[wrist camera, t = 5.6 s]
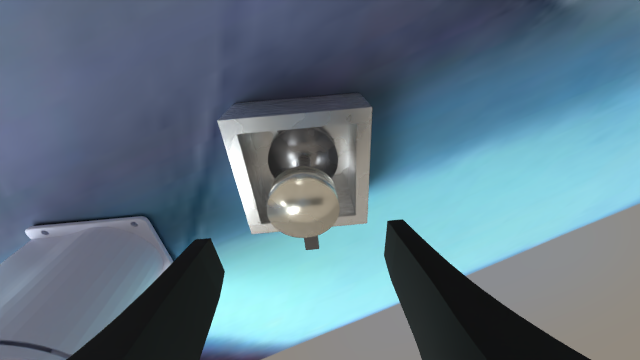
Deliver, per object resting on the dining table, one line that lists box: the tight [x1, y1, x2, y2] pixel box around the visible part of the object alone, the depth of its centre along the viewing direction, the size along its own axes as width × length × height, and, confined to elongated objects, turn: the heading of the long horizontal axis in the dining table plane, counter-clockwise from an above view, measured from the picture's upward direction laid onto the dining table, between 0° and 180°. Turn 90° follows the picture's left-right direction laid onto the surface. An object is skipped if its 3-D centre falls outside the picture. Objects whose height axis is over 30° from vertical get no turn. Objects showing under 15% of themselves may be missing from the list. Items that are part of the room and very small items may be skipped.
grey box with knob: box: [218, 93, 372, 250], centre depth 17 cm, size 8×10×4 cm
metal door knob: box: [267, 127, 340, 238], centre depth 14 cm, size 5×5×6 cm
